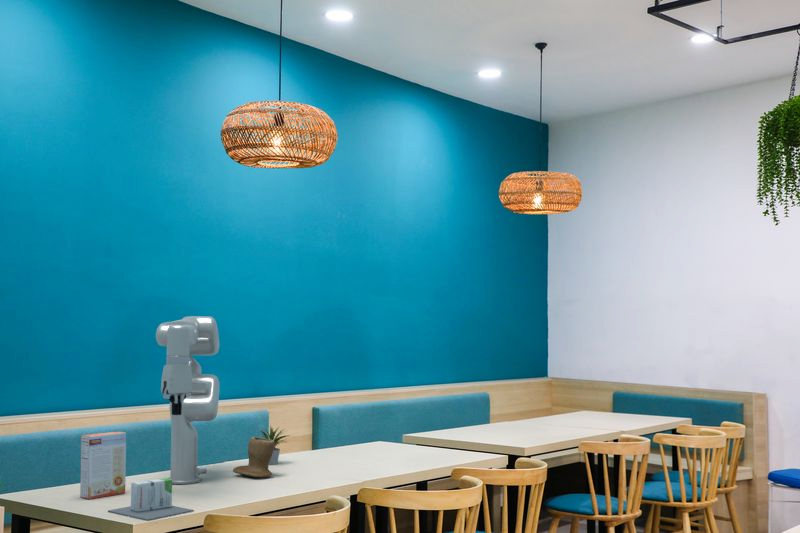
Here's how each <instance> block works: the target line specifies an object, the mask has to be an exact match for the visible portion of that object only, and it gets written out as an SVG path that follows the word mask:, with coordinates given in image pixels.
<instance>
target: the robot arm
mask: <svg viewBox="0 0 800 533" xmlns="http://www.w3.org/2000/svg"><path fill="white" fill-rule="evenodd" d="M219 338H220V337H219V329H218V324H217V321H216V319H215V318H214V317H213V316H199V315H197V316H196V315H195V316H194V315H190V316H189V315H188V316H183V317H182V319H178V320H174V321H166V322H162V323H160V324H159V325H158V327H157V328H156V332H155V339H156V342H157V344H158V345H159V346H161V347H166V364H165V365H163V370H162V375H161V384H160V385H161V386H160V391H161V394H162V395H163V396H162V397H163V399H168V400H169V415H170V423H171V424H170V425H171V426H170V427H171V428H170V429H171V431H170V432H171V433H170V434H171V439H170V440H171V441H170V475H169V476H170V477H166V478H167V479H171V480H172V485H186V484H187V485H188V484H196V483H199V482H201V481H202V477H201V475H204V474H208V469H207V468H206V467H205V468H200V467H198V446H199V444H198V436H199V435H198V431H197V429H196V428H195V426H194V425H193V424H192V422H212V421H214V420H215V419H216V417H217V416H218V410H219V399H220V398H219V396H220V381H219V378H218V376H217V375H215V374H212V373H211V374H207V373H205V374H204V373H203V374H202V366H201V365H200V363H199V362H198V361H197V360H196V359H195V358H194V357H193V356H214V355H216V354H218V353H219V351H220V350H219V349H220V339H219Z"/></svg>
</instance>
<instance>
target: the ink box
mask: <svg viewBox="0 0 800 533" xmlns="http://www.w3.org/2000/svg"><path fill="white" fill-rule="evenodd" d="M167 478H168V477H165V478H158V479H157V478H156V479H150V480H144V481H136V482H131V483H130V484H131V487H130V488H131V489H130V490H131V491H130V492H131V493H130V506H131V510H133V511H136V512H141V511H148V510H155V509H161V508H167V507H172V506H173V505H172V504H173V498H172V497H173V484H172V480H171V479H167Z"/></svg>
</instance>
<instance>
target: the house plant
mask: <svg viewBox="0 0 800 533" xmlns="http://www.w3.org/2000/svg"><path fill="white" fill-rule="evenodd" d="M279 428H280V426H278V427H277V428H276V429H275V430H274V428H273V427H272V425H270V427H269V431H268V430H267V429H266V428H264V429H262V430H260V433H261V434H262V438H265V439H270V440H273V441H274V443H275V447H274V451H273V454H272V457H271V459H270V461H269V465H268V466H276V465H278V462H279V456H280V451H281V449H280V448H276V447H278V446H279V445H280V444H281V443H287V441H288V439H283V438H286V437H291V435H282V434H283V433H285V429H284V428H283V429H281V430H280V431H279V432H278V429H279ZM264 430H265V431H264ZM287 431H289V430H287ZM277 432H278V433H277ZM276 433H277V435H276ZM280 435H282V436H280ZM281 439H283V440H281ZM286 440H287V441H286Z"/></svg>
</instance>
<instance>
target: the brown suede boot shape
mask: <svg viewBox="0 0 800 533" xmlns="http://www.w3.org/2000/svg"><path fill="white" fill-rule="evenodd" d="M274 447H275V448H276V446H275V443H274V439H273V440H270V439H266V438H264V437H260V436H258V437H257V436H251V438H250V439H249V440H248V445H247V455H248V465H238V466H236V467H234V468H233V469H232V472H233V473H235V474H238V475H243V476H246V477H249V478H266V477H267V478H268V477H271V476H273V474H274V473H273V472H272V471H271V470H270V469H269V466H270V465H269V461H270V459H271V457H272V454H273V451H274Z"/></svg>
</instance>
